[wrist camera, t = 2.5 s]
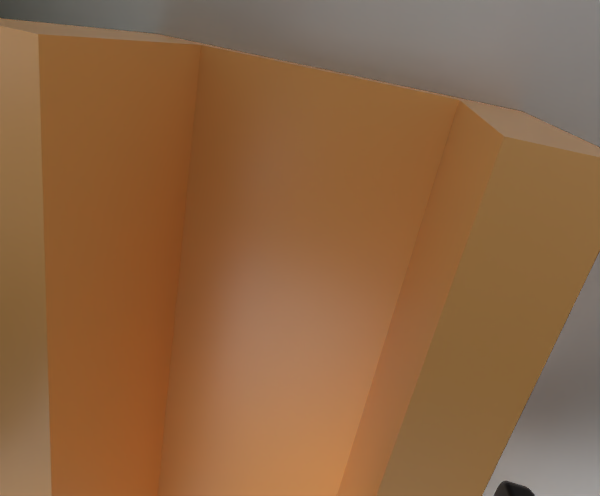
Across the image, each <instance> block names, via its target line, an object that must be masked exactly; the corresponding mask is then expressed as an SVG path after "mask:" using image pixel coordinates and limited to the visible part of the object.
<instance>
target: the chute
mask: <svg viewBox="0 0 600 496" xmlns="http://www.w3.org/2000/svg"><path fill="white" fill-rule="evenodd" d="M599 251H600V147H598V146H596V145H594V144H591V143H589V142H587V141H585V140H583V139H581V138H579V137H576V136H574V135H572V134H570V133H568V132H566V131H563V130H561V129H559V128H557V127H555V126H553V125H551V124H548V123H546V122H544V121H542V120H540V119H538V118H536V117H533V116H531V115H529V114H527V113H525V112H523V111H519V110H514V109H509V108H505V107H500V106H495V105H490V104H486V103H481V102H476V101H472V100H467V99H462V98H458V97H453V96H448V95H443V94H439V93H434V92H429V91H425V90H420V89H415V88H410V87H406V86H401V85H396V84H392V83H387V82H382V81H377V80H373V79H368V78H363V77H359V76H354V75H349V74H344V73H340V72H335V71H330V70H326V69H321V68H316V67H312V66H307V65H302V64H297V63H293V62H288V61H283V60H279V59H274V58H269V57H264V56H260V55H255V54H250V53H246V52H241V51H236V50H231V49H227V48H222V47H217V46H213V45H208V44H203V43H198V42H194V41H189V40H184V39H180V38H175V37H170V36H166V35H161V34H155V33H145V32H135V31H124V30H114V29H104V28H94V27H84V26H74V25H64V24H53V23H43V22H33V21H23V20H13V19H3V18H0V496H482V494H483V492H484V490H485V488H486V486H487V484H488V482H489V480H490V478H491V476H492V474H493V472H494V470H495V467H496V465H497V463H498V461H499V459H500V457H501V455H502V453H503V451H504V449H505V447H506V445H507V443H508V440H509V438H510V436H511V434H512V432H513V430H514V428H515V426H516V424H517V422H518V420H519V418H520V416H521V413H522V411H523V409H524V407H525V405H526V403H527V401H528V399H529V397H530V395H531V393H532V391H533V389H534V386H535V384H536V382H537V380H538V378H539V376H540V374H541V372H542V370H543V368H544V366H545V364H546V362H547V359H548V357H549V355H550V353H551V351H552V349H553V347H554V345H555V343H556V341H557V339H558V337H559V334H560V332H561V330H562V328H563V326H564V324H565V322H566V320H567V318H568V316H569V314H570V312H571V310H572V307H573V305H574V303H575V301H576V299H577V297H578V295H579V293H580V291H581V289H582V287H583V285H584V283H585V280H586V278H587V276H588V274H589V272H590V270H591V268H592V266H593V264H594V262H595V260H596V258H597V256H598V253H599Z"/></svg>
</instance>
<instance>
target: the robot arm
mask: <svg viewBox="0 0 600 496" xmlns="http://www.w3.org/2000/svg"><path fill="white" fill-rule="evenodd" d="M494 496H535V495H534V494H533V492H532V491H531V490H530V489H529V488H527V487H525V486H522V485H519V484H516V483H512V482H509V481H503V482H502V483H501V484H500V485H499V486H498V488H497V490H496V492H495V494H494Z"/></svg>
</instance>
